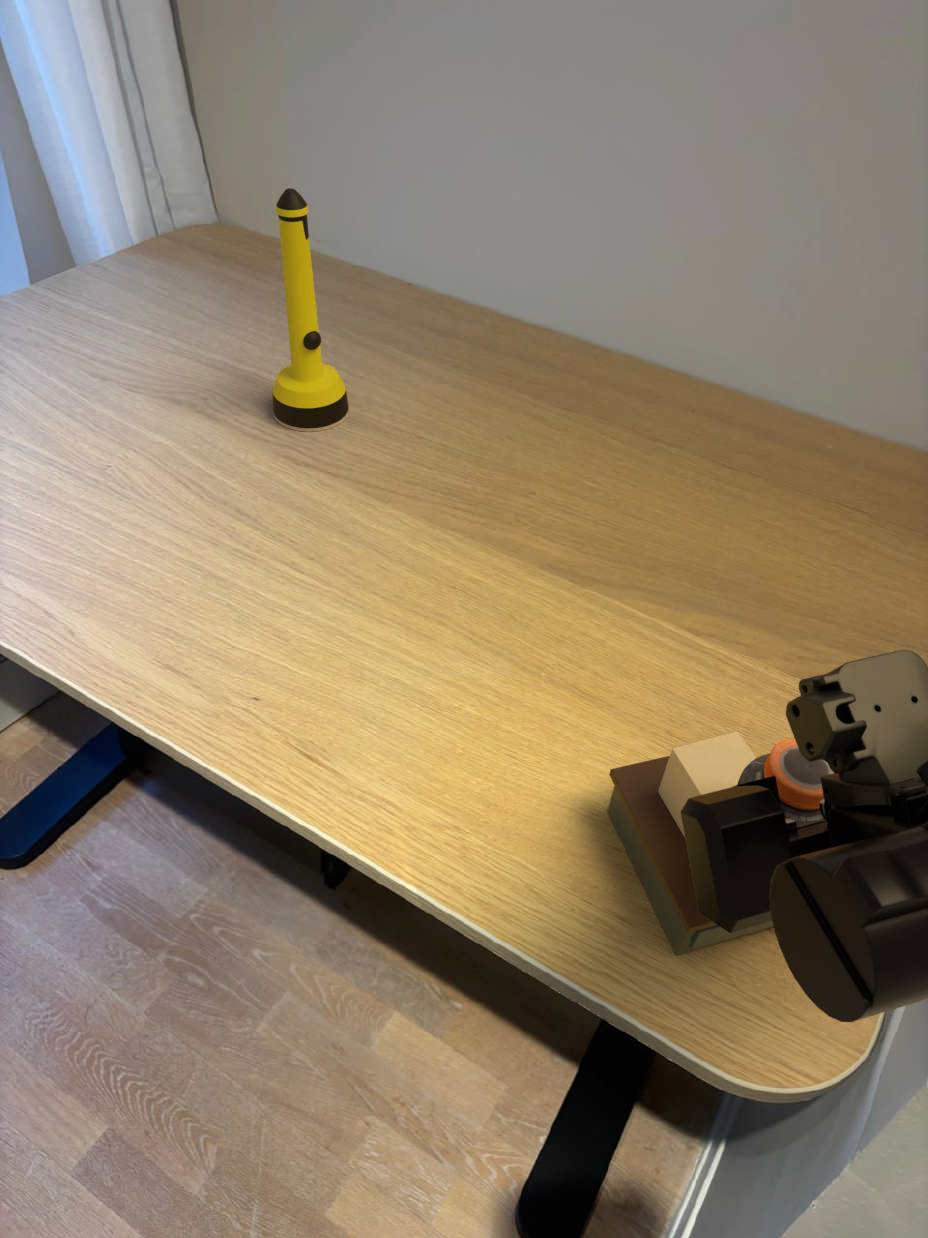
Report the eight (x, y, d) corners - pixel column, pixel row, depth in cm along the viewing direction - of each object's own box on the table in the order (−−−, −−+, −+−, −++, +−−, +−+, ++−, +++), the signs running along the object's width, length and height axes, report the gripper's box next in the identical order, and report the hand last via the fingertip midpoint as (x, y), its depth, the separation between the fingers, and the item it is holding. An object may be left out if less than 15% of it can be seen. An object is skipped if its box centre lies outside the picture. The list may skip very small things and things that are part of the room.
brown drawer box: (809, 924, 60) (834, 888, 56) (672, 963, 57) (689, 928, 54) (722, 778, 68) (739, 739, 65) (599, 807, 66) (610, 768, 62)
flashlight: (228, 182, 87) (271, 211, 82) (307, 168, 91) (352, 194, 86) (259, 405, 104) (296, 439, 99) (325, 384, 108) (363, 416, 103)
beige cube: (757, 832, 59) (779, 789, 55) (692, 852, 58) (710, 809, 54) (719, 774, 62) (737, 730, 59) (657, 792, 61) (671, 748, 58)
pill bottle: (805, 846, 57) (866, 738, 49) (799, 928, 53) (865, 825, 45) (712, 819, 58) (757, 710, 50) (700, 897, 54) (747, 792, 46)
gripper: (1125, 627, 39) (881, 631, 54) (753, 714, 34) (602, 692, 50) (1167, 873, 39) (912, 808, 54) (803, 990, 35) (637, 883, 50)
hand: (771, 793), depth 52 cm, fingers closed on pill bottle, 6 cm apart
